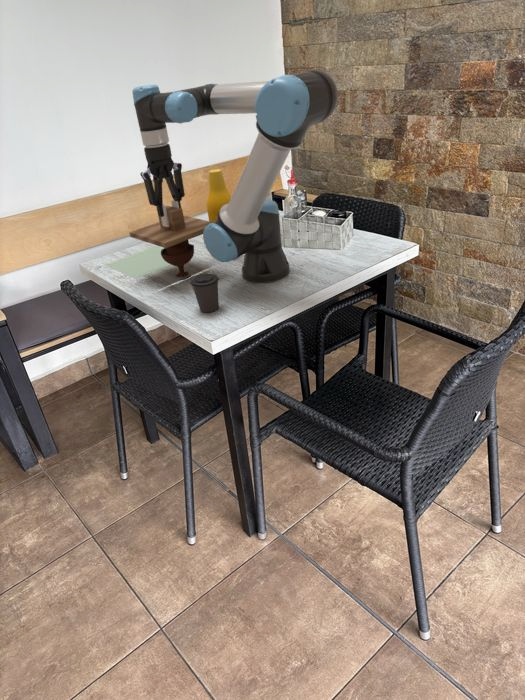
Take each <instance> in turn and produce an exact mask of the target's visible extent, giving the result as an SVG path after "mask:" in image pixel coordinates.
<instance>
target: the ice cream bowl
mask: <svg viewBox="0 0 525 700" xmlns="http://www.w3.org/2000/svg"><path fill="white" fill-rule="evenodd" d="M194 254H195V245H194V244H191V243H190V242H189V240H186V241H183V242H181V243H178V244H175V245H173V246H170V247H167V248H163V249H162V250H161V256H162V258H163V259H164V260H165V261H166V262H167V263H169V264H171V265H170V266H174V267H177V268H178V272H177V274H175V277H176V278H181V279H180V281H183V280H187V279H189V278H191V277H192V275H190V272H188V271H185V265H187V264H189V262H190V261H191V260H192V259H193V257H194Z"/></svg>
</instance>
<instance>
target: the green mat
mask: <svg viewBox="0 0 525 700" xmlns="http://www.w3.org/2000/svg"><path fill="white" fill-rule="evenodd" d="M162 249H164V248H163V247H160V246H157V245H154V246H152V247H149V248H147V249H144V250H142V251H139V252H136V253H133V254H131V255H129V256H125V257H123V258H120V259H118V260H114V261H112V262H108V263H107V264H104V266H105V267H107V268H108V269H112V270H115V271H117V272H119V273H121V274H124V275H126V276H129V277H131V278H133V279H136V280H137V279H140V278H142V277H146V276H147V275H149V274H152V273H154V272H157V271H159V270H162V269H164V268H167V267H169V266H172V265H171V264H169V263H167V262H166V261H165V260H164V259H163V258H162V256H161V250H162Z"/></svg>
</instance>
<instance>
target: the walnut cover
mask: <svg viewBox="0 0 525 700" xmlns="http://www.w3.org/2000/svg"><path fill="white" fill-rule="evenodd" d="M165 206H166V211H167V216H168V221H169V226H170V227H165V226H163V225H162V220H161V217H160V216H159V215H158V214H157V216H158V222H155V223H153V224H149V225H147V226H144V227H141V228H138V229H135V230H131V231H129V237H130V238H133V239H135V240H139V241H141V242H145V243H148V244H151V245H154V246H157V247H160V248H163V249H164V248H167V247H170V246H173V245H175V244H178V243H181V242H183V241H186V240H188V241H189V240H191V239H194V238H196V237H199V236H203V232H204V229H205V227H206V226H208V225H209V224H210V223H214V222H209V220H205V219H199V218H195V217H194V216H193V217H192V216H188V215H184V211H183V208H182V207H181V208H176V207H172V205H171V206H170V205H165Z"/></svg>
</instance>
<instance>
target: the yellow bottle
mask: <svg viewBox="0 0 525 700" xmlns="http://www.w3.org/2000/svg"><path fill="white" fill-rule="evenodd" d="M208 182H209V183H208V185H209V186H208V187H209V190H208V195H207V199H206V212H207V217H208V221H209V222H215V221H216V219H217V216H218V214H219V211H220V209H221V208H222V206H224V205H225V204H228V203H229V202H230V200H231V197H232V195H231V194H230V193H229V191H228V189H227V187H226V184H225V183H226V182H225V179H224V176H223V170H222V169H220V168H217V169H211V170H209V171H208Z"/></svg>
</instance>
